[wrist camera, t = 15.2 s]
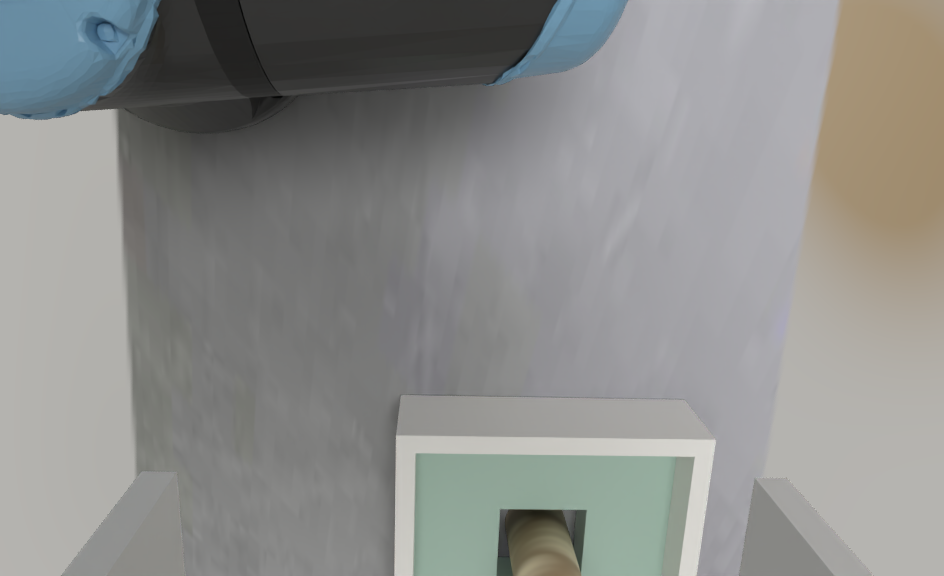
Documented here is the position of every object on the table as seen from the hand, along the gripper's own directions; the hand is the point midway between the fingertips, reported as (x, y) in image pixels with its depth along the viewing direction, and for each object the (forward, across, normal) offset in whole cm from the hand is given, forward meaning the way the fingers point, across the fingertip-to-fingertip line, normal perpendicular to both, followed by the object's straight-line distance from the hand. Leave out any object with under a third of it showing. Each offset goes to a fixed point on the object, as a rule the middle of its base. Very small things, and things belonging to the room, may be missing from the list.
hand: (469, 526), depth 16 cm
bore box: (+32, +7, -21) cm, 39 cm away
